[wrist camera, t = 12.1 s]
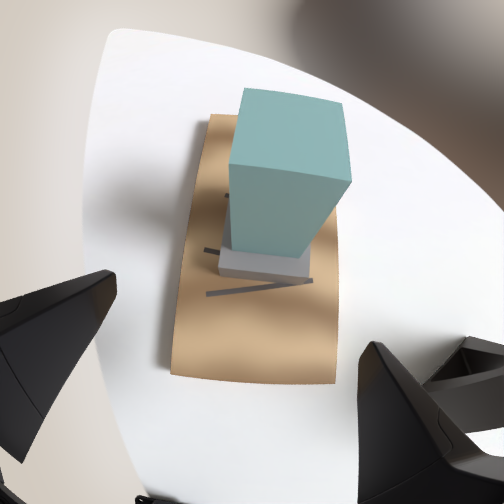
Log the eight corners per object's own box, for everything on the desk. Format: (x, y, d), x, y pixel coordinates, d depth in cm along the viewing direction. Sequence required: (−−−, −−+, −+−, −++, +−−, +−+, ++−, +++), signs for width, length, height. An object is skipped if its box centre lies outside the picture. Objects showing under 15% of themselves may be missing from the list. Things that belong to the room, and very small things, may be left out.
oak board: (328, 381, 20) (335, 383, 18) (174, 372, 19) (170, 374, 18) (324, 135, 27) (327, 125, 26) (211, 123, 27) (210, 113, 26)
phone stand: (431, 435, 18) (519, 459, 6) (413, 393, 19) (513, 407, 8) (482, 377, 20) (565, 373, 8) (467, 336, 21) (557, 317, 10)
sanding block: (300, 285, 20) (372, 214, 9) (220, 276, 20) (200, 191, 9) (304, 202, 23) (353, 91, 11) (232, 193, 23) (231, 72, 11)
